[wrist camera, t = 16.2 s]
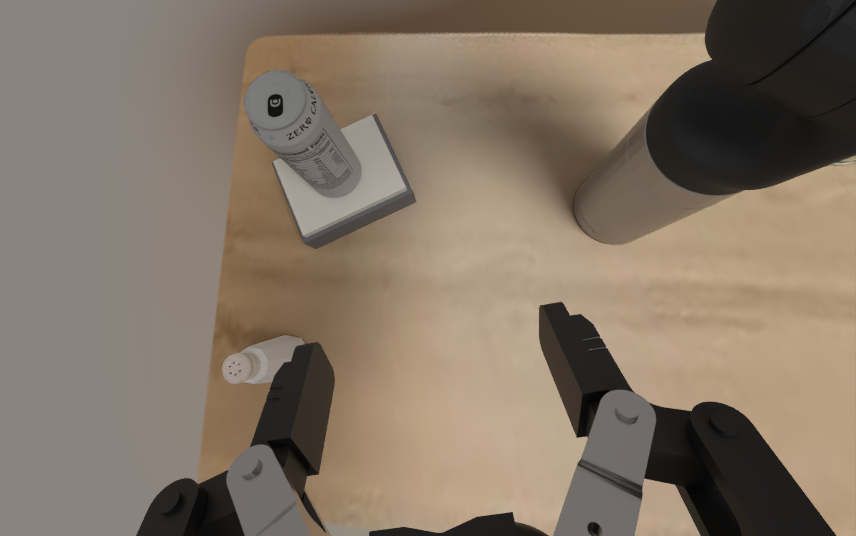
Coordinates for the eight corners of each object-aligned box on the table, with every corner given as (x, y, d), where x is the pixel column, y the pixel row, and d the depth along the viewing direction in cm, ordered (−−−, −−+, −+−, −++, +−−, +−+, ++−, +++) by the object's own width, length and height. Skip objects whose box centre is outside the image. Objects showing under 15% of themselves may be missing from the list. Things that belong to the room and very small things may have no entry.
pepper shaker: (264, 339, 45) (203, 345, 34) (306, 329, 45) (258, 333, 34) (271, 384, 44) (210, 405, 34) (314, 374, 44) (267, 392, 33)
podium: (381, 128, 48) (374, 109, 43) (416, 201, 46) (411, 189, 42) (285, 174, 48) (267, 159, 44) (315, 248, 46) (300, 241, 42)
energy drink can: (362, 148, 43) (312, 58, 28) (365, 198, 42) (314, 131, 27) (312, 153, 43) (236, 67, 28) (314, 203, 42) (236, 140, 28)
